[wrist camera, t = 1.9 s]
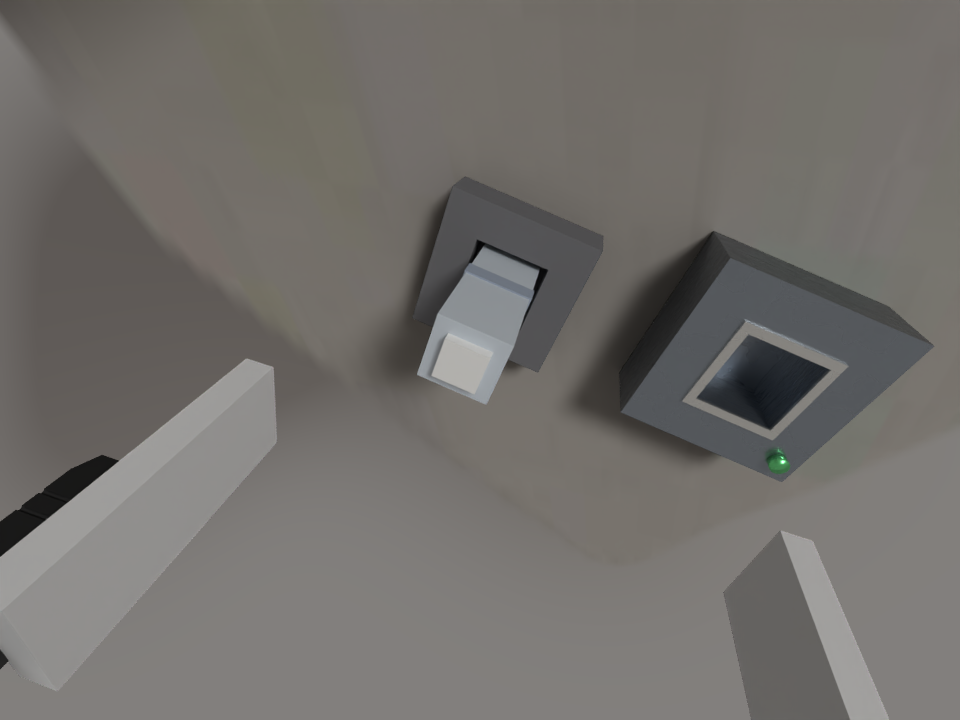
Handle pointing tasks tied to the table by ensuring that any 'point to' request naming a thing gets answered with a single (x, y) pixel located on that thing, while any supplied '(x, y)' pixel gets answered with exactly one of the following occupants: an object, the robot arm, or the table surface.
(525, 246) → the holster
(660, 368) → the port
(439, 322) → the plug
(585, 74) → the table surface
